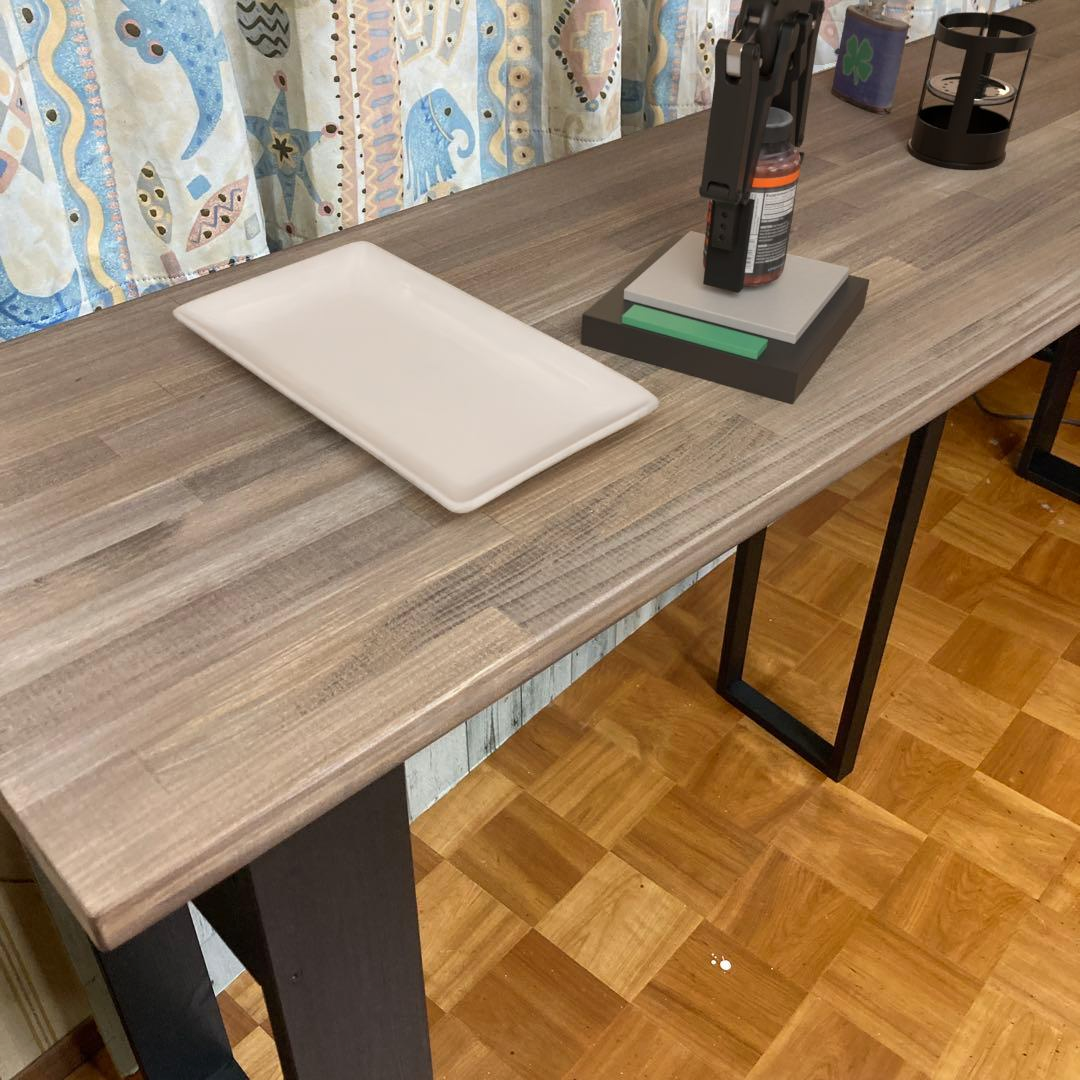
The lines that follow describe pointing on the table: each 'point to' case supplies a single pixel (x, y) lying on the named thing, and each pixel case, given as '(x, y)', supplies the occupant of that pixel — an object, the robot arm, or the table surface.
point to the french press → (970, 93)
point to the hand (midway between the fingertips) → (740, 267)
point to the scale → (727, 320)
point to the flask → (869, 57)
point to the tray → (418, 371)
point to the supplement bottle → (770, 202)
